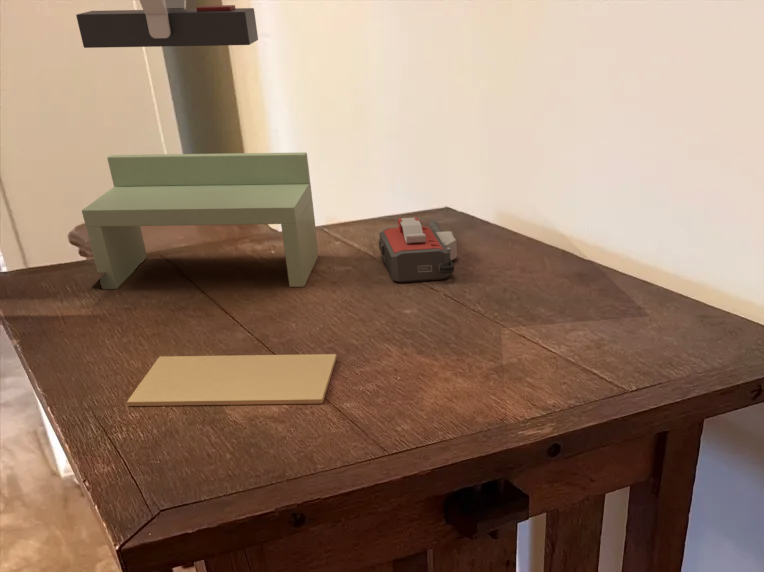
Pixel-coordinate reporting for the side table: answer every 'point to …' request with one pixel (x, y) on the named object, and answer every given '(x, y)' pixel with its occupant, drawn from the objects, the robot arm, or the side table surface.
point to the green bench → (201, 204)
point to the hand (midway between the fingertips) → (170, 34)
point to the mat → (235, 380)
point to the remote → (187, 24)
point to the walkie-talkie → (417, 251)
